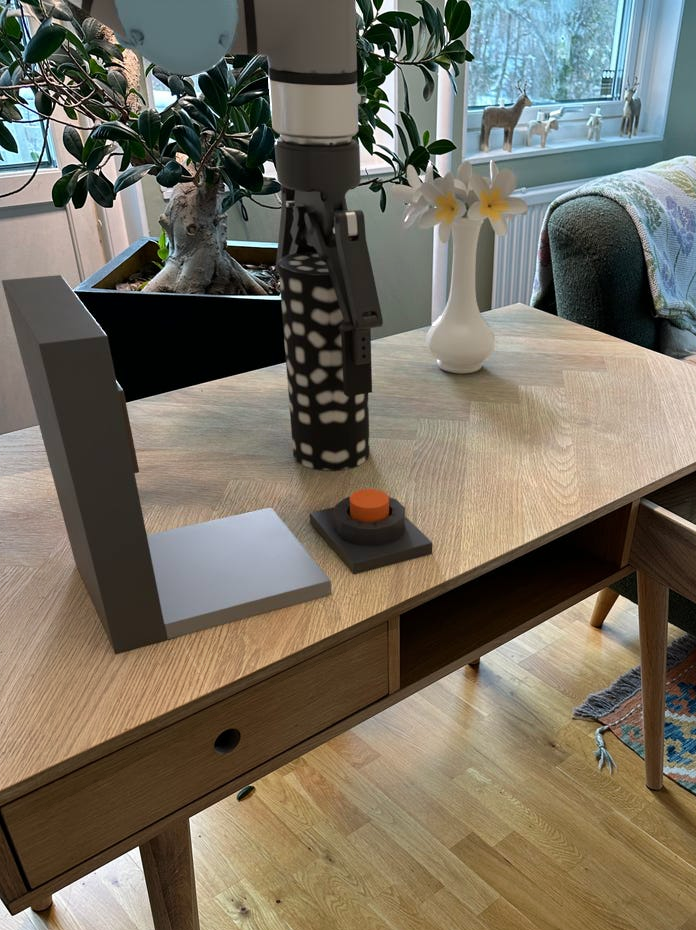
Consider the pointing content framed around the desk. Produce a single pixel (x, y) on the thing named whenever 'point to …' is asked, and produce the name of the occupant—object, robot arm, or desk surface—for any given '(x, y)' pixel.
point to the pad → (370, 537)
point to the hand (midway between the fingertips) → (330, 370)
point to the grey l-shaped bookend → (117, 499)
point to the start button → (369, 505)
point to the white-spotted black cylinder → (319, 370)
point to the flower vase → (461, 251)
